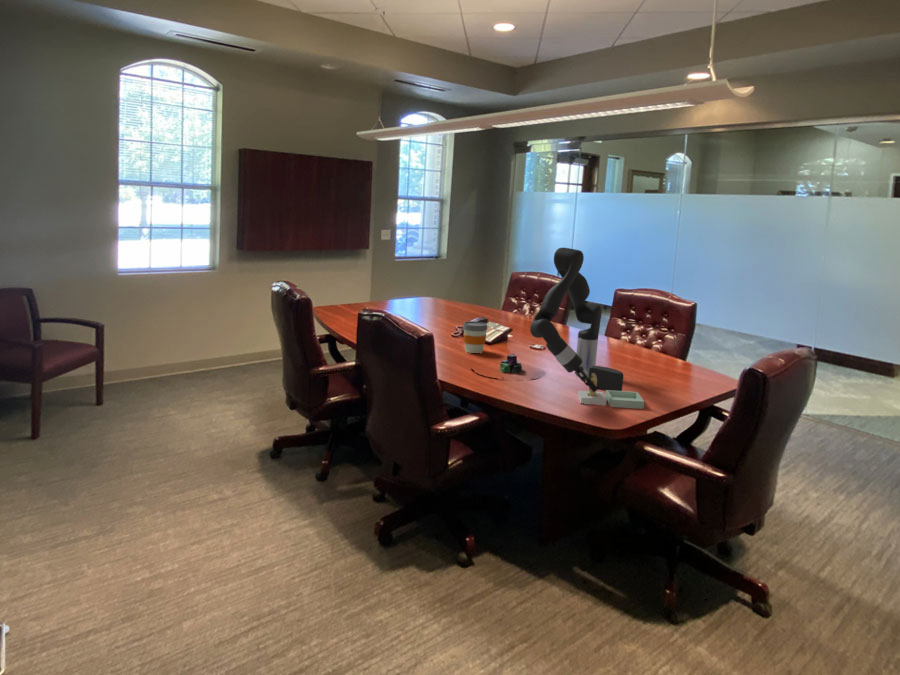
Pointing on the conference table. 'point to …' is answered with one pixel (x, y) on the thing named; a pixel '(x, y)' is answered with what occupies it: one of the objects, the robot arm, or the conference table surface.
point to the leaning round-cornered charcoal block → (607, 378)
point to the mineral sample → (511, 365)
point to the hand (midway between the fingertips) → (594, 387)
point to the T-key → (594, 384)
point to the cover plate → (592, 398)
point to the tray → (624, 399)
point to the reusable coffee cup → (474, 336)
